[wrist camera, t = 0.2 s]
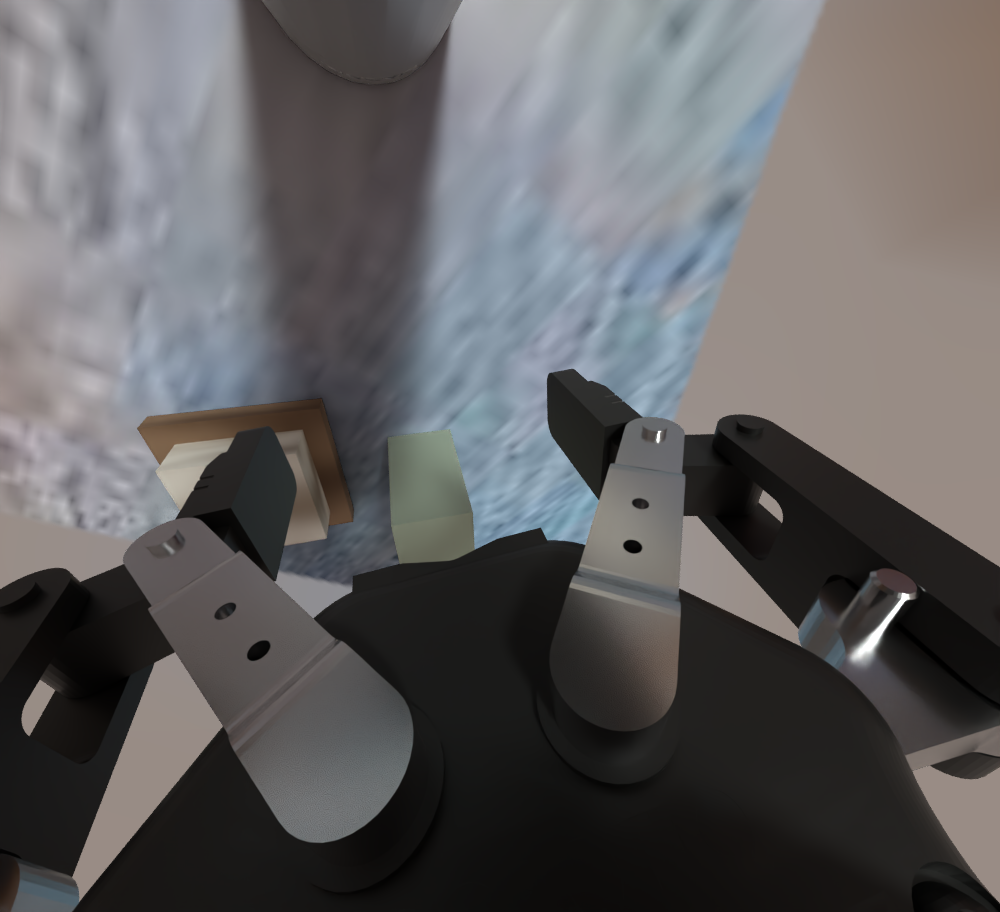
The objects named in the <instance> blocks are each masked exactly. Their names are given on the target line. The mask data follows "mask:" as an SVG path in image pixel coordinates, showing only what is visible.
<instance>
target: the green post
mask: <svg viewBox="0 0 1000 912" xmlns="http://www.w3.org/2000/svg"><path fill="white" fill-rule="evenodd" d="M388 458H389V483H390V507H391V527H392V532H393V536H394V541H395V545H396V550H397V554H398V559H399V563H400V564H402V563H419V562H436V561H450V560H454V559H457V558H459V557H461V556H463V555H465V554H467V553H469V552H471V551H473V550H475V548H474V529H473V512H472V508H471V504H470V501H469V497H468V493H467V490H466V486H465V482H464V479H463V475H462V471H461V468H460V464H459V460H458V457H457V453H456V449H455V446H454V442H453V438H452V435H451V431H450V429H448V430H440V431H432V432H425V433H417V434H409V435H401V436H393V437H388Z"/></svg>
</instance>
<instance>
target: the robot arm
mask: <svg viewBox="0 0 1000 912" xmlns="http://www.w3.org/2000/svg"><path fill="white" fill-rule="evenodd" d="M261 1H262V2H263V3H264V5H265V6H266V7H267V8H268V10H269V11H270V12H271V14H272V15H273V16H274V18H275V19H276V21H277V22H278V23H279V25H280V26H281V27H282V29H283V30H284V31H285V33H286V34H287V35H288V37H289V38H290V39H291V40H292V41H293V42H294V43H295V44H296V45H297V46H298V47H299V48H300V49H301V50H302V51H303V52H304V53H305V54H306V55H307V56H308V57H309V58H310V59H312V60H313V61H315V62H316V63H318V64H319V65H320V66H322V67H323V68H325V69H326V70H328V71H329V72H331V73H333V74H335V75H337V76H340V77H342V78H344V79H347V80H349V81H351V82H357V83H363V84H369V85H376V84H386V83H392V82H395V81H397V80H400V79H402V78H404V77H407V76H409V75H410V74H411V73H413V72H414V71H415V70H417V69H418V68H419V67H420V66H422V65H423V64H424V63H425V62H426V60H427V59H428V58H429V56H430V55H431V54H432V53H433V51H434V50H435V49H436V47H437V46H438V44H439V42H440V40H441V39H442V37H443V35H444V33H445V31H446V29H447V28H448V26H449V25H450V23H451V21H452V19H453V17H454V15H455V13H456V12H457V10H458V8H459V6H460V4H461V2H462V0H261ZM547 411H548V425H549V430H550V433H551V435H552V437H553V438H554V440H555V441H556V443H557V444H558V445H559V447H560V448H561V449H562V451H563V452H564V453H565V455H566V456H567V457H568V459H569V460H570V462H571V463H572V464H573V466H574V467H575V468H576V470H577V471H578V472H579V474H580V475H581V477H582V478H583V479H584V481H585V482H586V483H587V485H588V486H589V487H590V489H591V490H592V491H593V493H594V494H595V496H596V497H597V498H598V500H599V502H598V506H597V509H596V512H595V516H594V519H593V522H592V525H591V529H590V532H589V535H588V539H587V542H586V545H583V544H579V543H575V542H569V541H558V540H547V539H546V537H545V535H544V533H543V531H542V529H541V528H538V529H534V530H530V531H526V532H522V533H518V534H514V535H510V536H507V537H503V538H499V539H496V540H494V541H492V542H490V543H488V544H486V545H484V546H482V547H480V548H478V549H476V550H473V551H471V552H469V553H467V554H465V555H463V556H461V557H459V558H457V559H454V560H450V561H436V562H419V563H402V564H398V565H394V566H390V567H386V568H382V569H379V570H375V571H371V572H367V573H363V574H359V575H355V576H353V589H352V592H351V593H349V594H347V595H345V596H344V597H342V598H340V599H339V600H337V601H335V602H334V603H332V604H331V605H330V606H328V607H327V608H325V609H324V610H323V611H322V612H321V613H319V614H318V615H317V616H316V617H315V618H314V619H313V618H312V617H311V616H310V615H308V613H307V612H305V611H304V610H303V609H302V608H301V607H300V606H299V605H298V604H297V603H296V602H295V601H294V600H293V599H291V597H289V595H287V594H286V593H285V592H284V591H283V590H282V589H281V588H280V587H279V586H278V585H277V584H276V583H275V582H274V581H276V578H277V574H278V570H279V565H280V561H281V557H282V553H283V548H284V544H285V540H286V536H287V531H288V527H289V523H290V519H291V514H292V510H293V506H294V502H295V497H296V493H297V485H296V479H295V476H294V473H293V470H292V468H291V466H290V464H289V462H288V460H287V458H286V455H285V453H284V451H283V449H282V447H281V445H280V443H279V440H278V438H277V436H276V434H275V432H274V431H273V429H272V428H271V427H269V426H265V427H260V428H255V429H249V430H244V431H239V432H237V434H236V436H235V437H234V439H233V441H232V443H231V445H230V447H229V449H228V450H227V452H224V453H221V454H220V455H219V456H217V457H216V458H215V459H214V460H213V461H211V462H210V463H209V464H208V465H207V466H206V468H205V469H204V471H203V473H202V474H201V476H200V480H199V481H197V483H196V485H195V486H194V488H193V489H194V491H192V492H191V493H190V495H189V497H188V498H187V500H186V502H185V504H184V505H183V507H182V509H181V511H180V512H179V514H178V516H177V517H176V519H175V520H172V521H169V522H166V523H164V524H161V525H159V526H157V527H155V528H153V529H151V530H150V531H148V532H146V533H145V534H143V535H142V536H141V537H139V538H138V539H137V540H136V541H135V542H133V543H132V544H131V546H130V547H129V548H128V549H127V551H126V552H125V554H124V557H123V563H124V564H123V565H121V566H118V567H116V568H113V569H111V570H109V571H106V572H104V573H101V574H99V575H97V576H94V577H92V578H89V579H87V580H84V581H82V582H79V580H77V579H76V578H75V577H74V576H73V575H72V574H71V573H70V572H69V571H68V570H66V569H63V568H51V569H46V570H42V571H38V572H35V573H33V574H30V575H27V576H25V577H23V578H20V579H18V580H16V581H14V582H12V583H10V584H8V585H7V586H5V587H3V588H2V589H0V912H1000V903H999V902H998V901H997V900H996V899H995V898H994V897H993V896H992V894H991V893H990V892H989V891H988V890H987V889H986V887H985V886H984V885H983V884H982V883H981V882H980V880H979V879H978V878H977V876H976V875H975V874H974V872H973V871H972V870H971V869H970V867H969V866H968V864H967V863H966V861H965V860H964V858H963V857H962V856H961V854H960V853H959V851H958V850H957V848H956V847H955V846H954V844H953V843H952V841H951V840H950V838H949V837H948V835H947V833H946V832H945V830H944V829H943V827H942V825H941V824H940V822H939V820H938V819H937V817H936V816H935V814H934V812H933V811H932V809H931V807H930V806H929V804H928V802H927V800H926V798H925V796H924V794H923V792H922V790H921V789H920V787H919V785H918V783H917V781H916V779H915V777H914V774H913V772H912V771H914V770H917V769H920V768H923V767H926V766H932V767H933V768H935V769H937V770H939V771H942V772H944V773H946V774H949V775H951V776H955V777H959V778H964V779H978V778H981V777H984V776H986V775H987V774H989V773H991V772H992V771H994V770H996V769H997V768H999V767H1000V567H999V566H997V565H995V564H994V563H992V562H991V561H989V560H987V559H986V558H985V557H983V556H981V555H980V554H978V553H977V552H975V551H974V550H972V549H970V548H969V547H967V546H966V545H964V544H963V543H961V542H960V541H958V540H956V539H955V538H953V537H952V536H950V535H949V534H947V533H945V532H944V531H942V530H941V529H939V528H938V527H936V526H934V525H932V524H931V523H930V522H928V521H927V520H925V519H923V518H922V517H920V516H919V515H917V514H916V513H914V512H912V511H911V510H909V509H908V508H906V507H905V506H903V505H902V504H900V503H898V502H897V501H895V500H894V499H892V498H891V497H889V496H887V495H886V494H884V493H883V492H881V491H880V490H878V489H876V488H875V487H873V486H872V485H870V484H869V483H867V482H865V481H864V480H862V479H861V478H859V477H858V476H856V475H855V474H853V473H851V472H850V471H848V470H847V469H845V468H844V467H842V466H840V465H839V464H837V463H836V462H834V461H833V460H831V459H829V458H828V457H826V456H825V455H823V454H822V453H820V452H819V451H817V450H815V449H814V448H812V447H811V446H809V445H808V444H806V443H804V442H803V441H801V440H800V439H798V438H797V437H795V436H793V435H792V434H790V433H789V432H787V431H786V430H784V429H782V428H781V427H779V426H778V425H776V424H774V423H773V422H771V421H769V420H766V419H764V418H760V417H756V416H751V415H729V416H726V417H723V418H722V419H720V420H719V421H718V423H717V427H716V430H715V434H706V435H705V434H704V435H685V433H684V430H683V429H682V428H681V427H680V426H679V425H678V424H676V423H675V422H672V421H670V420H667V419H663V418H657V417H642V416H641V415H639V414H638V413H637V412H636V411H635V410H633V409H632V408H631V407H630V406H629V405H627V404H626V403H625V402H622V400H621V399H620V398H619V397H618V396H617V395H615V394H614V393H613V392H612V391H611V390H610V389H608V388H607V387H606V386H604V385H601V384H599V383H596V382H593V381H587V380H586V379H585V378H583V377H582V376H581V375H580V374H579V373H578V372H577V371H576V370H574V369H568V370H563V371H558V372H553V373H549V375H548V378H547ZM763 490H764V491H766V492H767V493H768V494H769V495H770V496H771V497H773V498H774V499H775V500H776V501H777V502H778V504H779V505H780V507H781V509H782V513H783V522H782V523H781V522H780V521H779V520H778V519H777V518H775V517H774V516H773V515H772V514H771V513H770V512H769V511H768V510H766V509H765V508H764V507H763V506H762V505H761V504H760V503H759V499H760V496H761V494H762V491H763ZM683 516H698V517H699V518H700V519H701V521H702V522H703V523H704V524H705V525H706V526H707V527H708V528H709V530H710V531H711V532H712V533H713V534H714V535H715V536H716V537H717V539H718V540H719V541H720V542H721V543H722V544H723V545H724V546H725V547H726V549H727V550H728V551H729V552H730V553H731V554H732V555H733V556H734V558H735V559H736V560H737V561H738V562H739V563H740V564H741V565H742V566H743V567H744V569H745V570H746V571H747V572H748V573H749V574H750V575H751V576H752V578H753V579H754V580H755V581H756V582H757V583H758V584H759V585H760V586H761V588H762V589H763V590H764V591H765V592H766V593H767V594H768V595H769V597H770V598H771V599H772V600H773V601H774V602H775V603H776V604H777V605H778V607H779V608H780V609H782V611H783V612H784V613H785V614H786V615H787V617H788V618H789V619H790V620H791V621H792V622H793V623H794V624H795V626H796V627H797V628H798V629H799V631H798V635H799V641H800V644H801V646H802V647H801V646H799V645H797V644H795V643H792V642H790V641H788V640H786V639H784V638H782V637H780V636H778V635H776V634H774V633H771V632H769V631H767V630H765V629H763V628H761V627H759V626H757V625H755V624H753V623H751V622H749V621H746V620H744V619H742V618H740V617H738V616H736V615H734V614H732V613H730V612H728V611H725V610H723V609H721V608H719V607H717V606H715V605H713V604H711V603H709V602H707V601H705V600H702V599H700V598H698V597H696V596H694V595H692V594H690V593H688V592H686V591H684V590H681V589H679V580H680V562H681V545H682V528H683ZM174 652H175V653H176V654H177V656H178V657H179V659H180V660H181V662H182V663H183V665H184V666H185V668H186V670H187V671H188V672H189V674H190V676H191V677H192V679H193V680H194V682H195V683H196V685H197V687H198V688H199V690H200V691H201V693H202V694H203V696H204V697H205V699H206V700H207V702H208V704H209V705H210V707H211V708H212V710H213V711H214V713H215V714H216V716H217V717H218V719H219V721H220V722H221V724H222V725H223V727H222V728H221V729H220V731H219V732H218V733H217V734H216V736H215V737H214V738H213V739H212V740H211V742H210V743H209V744H208V745H207V747H206V748H205V749H204V750H203V752H202V753H201V754H200V755H199V756H198V758H197V759H196V760H195V761H194V762H193V764H192V765H191V766H190V767H189V769H188V770H187V771H186V772H185V774H184V775H183V776H182V777H181V778H180V780H179V781H178V782H177V783H176V785H175V786H174V787H173V788H172V789H171V791H170V792H169V793H168V795H166V797H165V798H164V799H163V800H162V802H161V803H160V804H159V805H158V806H157V808H156V809H155V810H154V811H153V813H152V814H151V815H150V816H149V817H148V819H147V820H146V821H145V822H144V823H143V825H142V826H141V827H140V828H139V830H138V831H137V832H136V833H135V835H134V836H133V837H132V838H131V839H130V841H129V842H128V843H127V844H126V845H125V847H124V848H123V849H122V850H121V852H120V853H119V854H118V855H117V856H116V858H115V859H114V860H113V861H112V863H111V864H110V865H109V866H108V867H107V869H106V870H105V871H104V872H103V874H102V875H101V876H100V877H99V878H98V880H97V881H96V882H95V883H94V885H93V886H92V887H91V888H90V889H89V891H88V892H87V893H86V894H85V896H84V897H83V898H82V900H81V901H80V902H79V891H78V887H77V884H76V882H75V880H74V879H73V878H72V876H73V874H74V871H75V868H76V866H77V863H78V861H79V858H80V855H81V853H82V850H83V848H84V845H85V842H86V840H87V837H88V835H89V832H90V829H91V827H92V824H93V822H94V819H95V817H96V814H97V811H98V809H99V806H100V804H101V801H102V798H103V796H104V793H105V791H106V788H107V785H108V783H109V780H110V778H111V775H112V772H113V770H114V767H115V765H116V762H117V759H118V757H119V754H120V751H121V749H122V746H123V744H124V741H125V739H126V736H127V733H128V731H129V728H130V726H131V723H132V720H133V718H134V715H135V712H136V710H137V707H138V705H139V702H140V700H141V697H142V694H143V692H144V689H145V686H146V684H147V682H148V678H149V676H150V674H151V671H152V669H153V665H154V663H155V662H156V661H159V660H161V659H162V658H164V657H166V656H168V655H170V654H172V653H174ZM39 680H42V681H43V682H45V683H46V684H47V685H49V686H50V687H52V688H53V689H55V692H54V694H53V696H52V697H51V699H50V701H49V703H48V704H47V706H46V708H45V710H44V712H43V713H42V715H41V717H40V719H39V720H38V722H37V724H36V726H35V728H34V729H33V731H32V733H31V735H30V736H28V735H27V734H26V733H25V731H24V729H23V727H22V721H21V717H22V711H23V708H24V705H25V703H26V701H27V700H28V698H29V696H30V695H31V693H32V691H33V690H34V688H35V687H36V684H37V683H38V682H39Z"/></svg>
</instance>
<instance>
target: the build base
mask: <svg viewBox="0 0 1000 912" xmlns="http://www.w3.org/2000/svg"><path fill="white" fill-rule="evenodd" d="M265 426H269V427H271V428H272V429H273V431H274V432H275V434H276V436H277V438H278V440H279V443H280V445H281V447H282V449H283V451H284V453H285V455H286V458H287V460H288V462H289V464H290V466H291V468H292V470H293V473H294V476H295V479H296V485H297V493H296V497H295V502H294V506H293V510H292V514H291V519H290V523H289V527H288V531H287V536H286V540H285V544H284V546H286V545H292V544H298V543H304V542H310V541H315V540H321V539H327V533H328V526H330V525H336V524H342V523H348V522H353V516H354V508H353V505H352V501H351V498H350V495H349V491H348V488H347V484H346V481H345V477H344V474H343V470H342V467H341V463H340V460H339V456H338V453H337V449H336V446H335V443H334V439H333V436H332V432H331V429H330V425H329V422H328V418H327V415H326V411H325V408H324V404H323V401H322V398H320V399H311V400H301V401H292V402H282V403H273V404H263V405H254V406H244V407H235V408H225V409H216V410H206V411H197V412H187V413H178V414H168V415H159V416H149V417H147V418H146V419H145V420H144V421H143V422H142V423H141V425H140V426H139V427H138V428H137V429H138V431H139V432H140V434H141V435H142V437H143V439H144V440H145V442H146V443H147V445H148V447H149V448H150V450H151V452H152V453H153V455H154V456H155V458H156V460H157V461H158V463H159V464H160V466H159V467H158V469H157V470H156V473H157V475H158V477H159V478H160V480H161V481H162V483H163V484H164V486H165V488H166V489H167V491H168V492H169V494H170V495H171V497H172V499H173V500H174V502H175V503H176V505H177V506H178V508H179V510H180V511H181V509H182V507H183V505H184V504H185V502H186V500H187V498H188V497H189V495H190V493H191V492H192V491H194V489H193V488H194V486H195V485H196V483H197V481H199V480H200V476H201V474H202V473H203V471H204V469H205V468H206V466H207V465H208V464H209V463H210V462H211V461H213V460H214V459H215V458H216V457H217V456H219V455H220V454H221V453H224V452H227V450H228V449H229V447H230V445H231V443H232V441H233V439H234V437H235V436H236V434H237V432H239V431H244V430H249V429H255V428H260V427H265Z"/></svg>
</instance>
